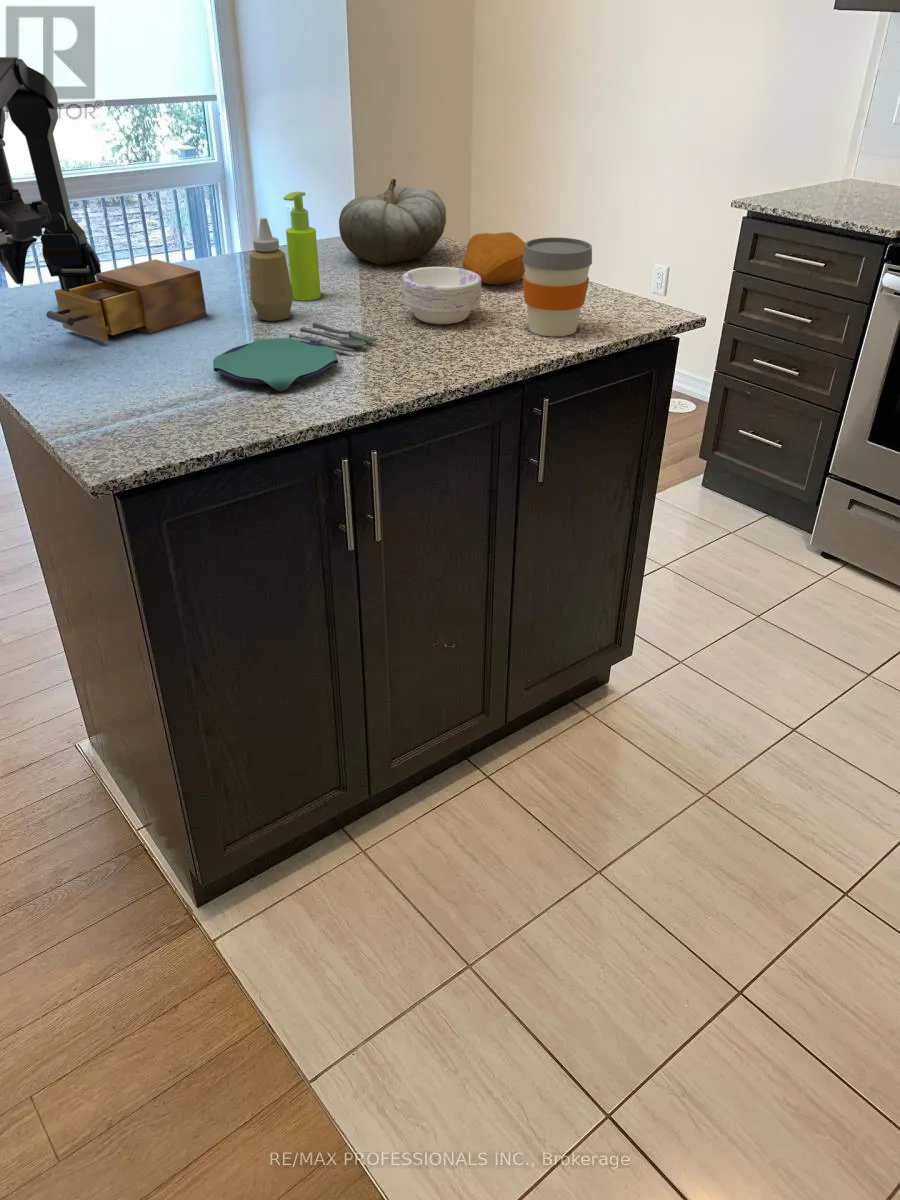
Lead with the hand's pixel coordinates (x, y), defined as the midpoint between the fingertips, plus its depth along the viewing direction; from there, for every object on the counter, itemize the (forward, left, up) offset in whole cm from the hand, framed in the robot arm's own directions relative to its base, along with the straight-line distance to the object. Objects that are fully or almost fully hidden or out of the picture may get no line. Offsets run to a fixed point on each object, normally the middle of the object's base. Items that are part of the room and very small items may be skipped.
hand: (19, 283), depth 150 cm
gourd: (+36, +80, -12) cm, 89 cm away
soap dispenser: (+30, +45, -12) cm, 56 cm away
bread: (+63, +70, -12) cm, 95 cm away
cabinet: (+9, +24, -12) cm, 28 cm away
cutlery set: (+45, +10, -12) cm, 48 cm away
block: (+5, +13, -10) cm, 17 cm away
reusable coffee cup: (+83, +41, -12) cm, 94 cm away
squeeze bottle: (+30, +31, -12) cm, 45 cm away
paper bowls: (+61, +41, -12) cm, 75 cm away
